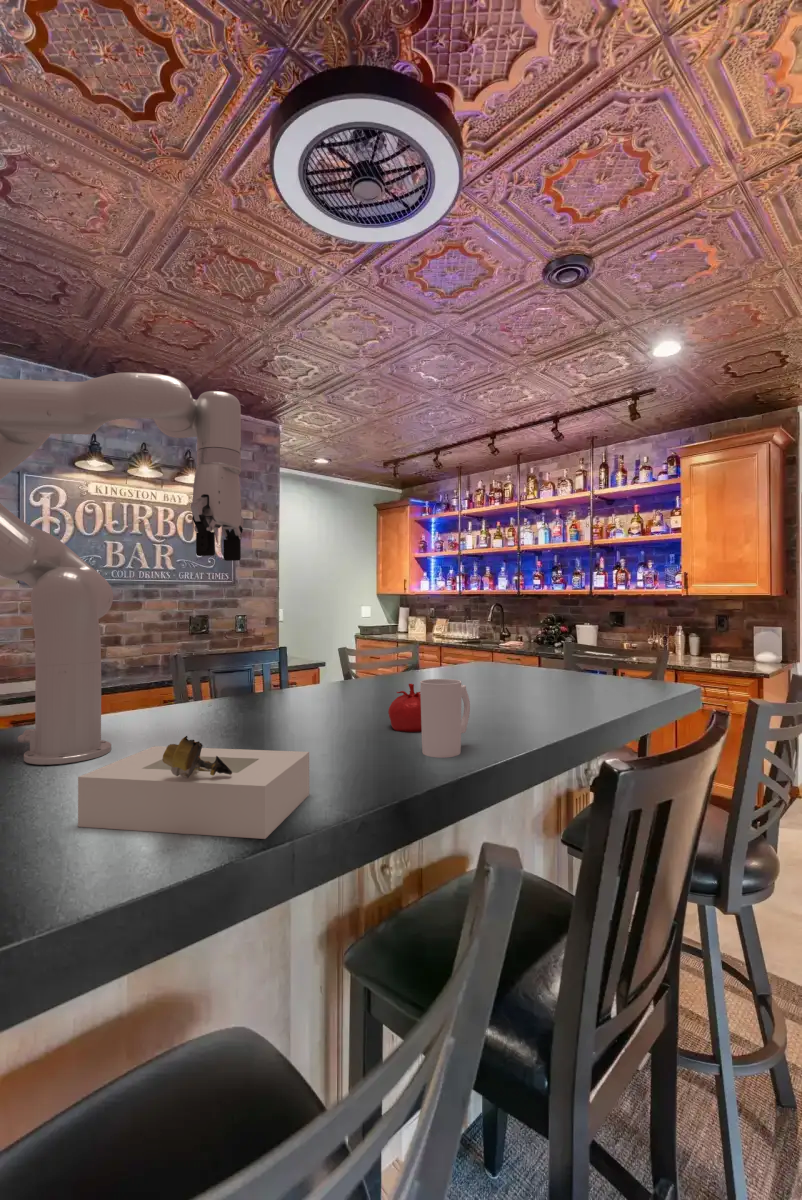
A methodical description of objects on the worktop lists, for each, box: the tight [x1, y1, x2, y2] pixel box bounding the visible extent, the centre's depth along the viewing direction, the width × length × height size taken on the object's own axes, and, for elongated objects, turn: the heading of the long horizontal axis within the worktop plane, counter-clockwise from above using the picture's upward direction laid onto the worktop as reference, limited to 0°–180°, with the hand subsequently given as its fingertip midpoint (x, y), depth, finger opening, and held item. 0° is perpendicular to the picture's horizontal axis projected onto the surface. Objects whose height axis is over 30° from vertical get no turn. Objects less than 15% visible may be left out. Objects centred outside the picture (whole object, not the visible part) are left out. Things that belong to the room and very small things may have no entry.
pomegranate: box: [387, 683, 422, 733], centre depth 109 cm, size 10×10×9 cm
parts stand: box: [77, 745, 310, 840], centre depth 67 cm, size 22×14×6 cm, turn 80°
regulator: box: [162, 735, 232, 778], centre depth 63 cm, size 8×4×15 cm
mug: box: [419, 678, 471, 759], centre depth 92 cm, size 10×7×12 cm, turn 129°
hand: (219, 558), depth 100 cm, fingers open, 9 cm apart
